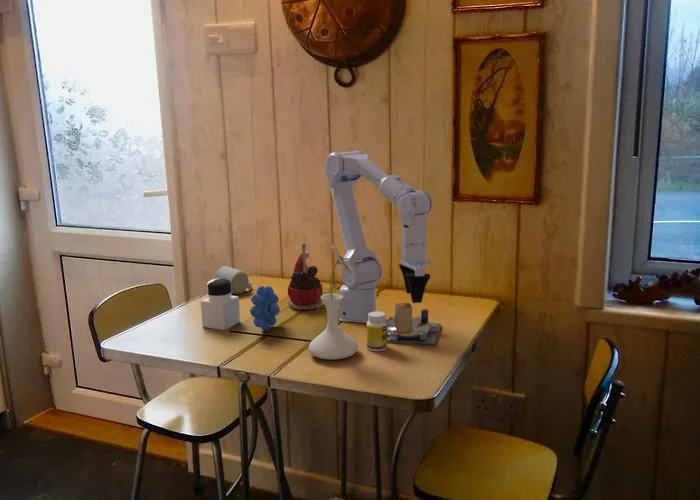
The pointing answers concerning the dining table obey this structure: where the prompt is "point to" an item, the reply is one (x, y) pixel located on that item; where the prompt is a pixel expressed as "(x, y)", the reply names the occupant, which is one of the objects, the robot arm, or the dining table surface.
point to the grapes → (264, 307)
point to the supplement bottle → (376, 331)
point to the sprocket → (413, 327)
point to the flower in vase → (333, 325)
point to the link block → (403, 317)
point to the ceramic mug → (234, 279)
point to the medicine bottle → (220, 306)
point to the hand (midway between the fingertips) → (413, 297)
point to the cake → (304, 285)
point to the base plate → (429, 341)
